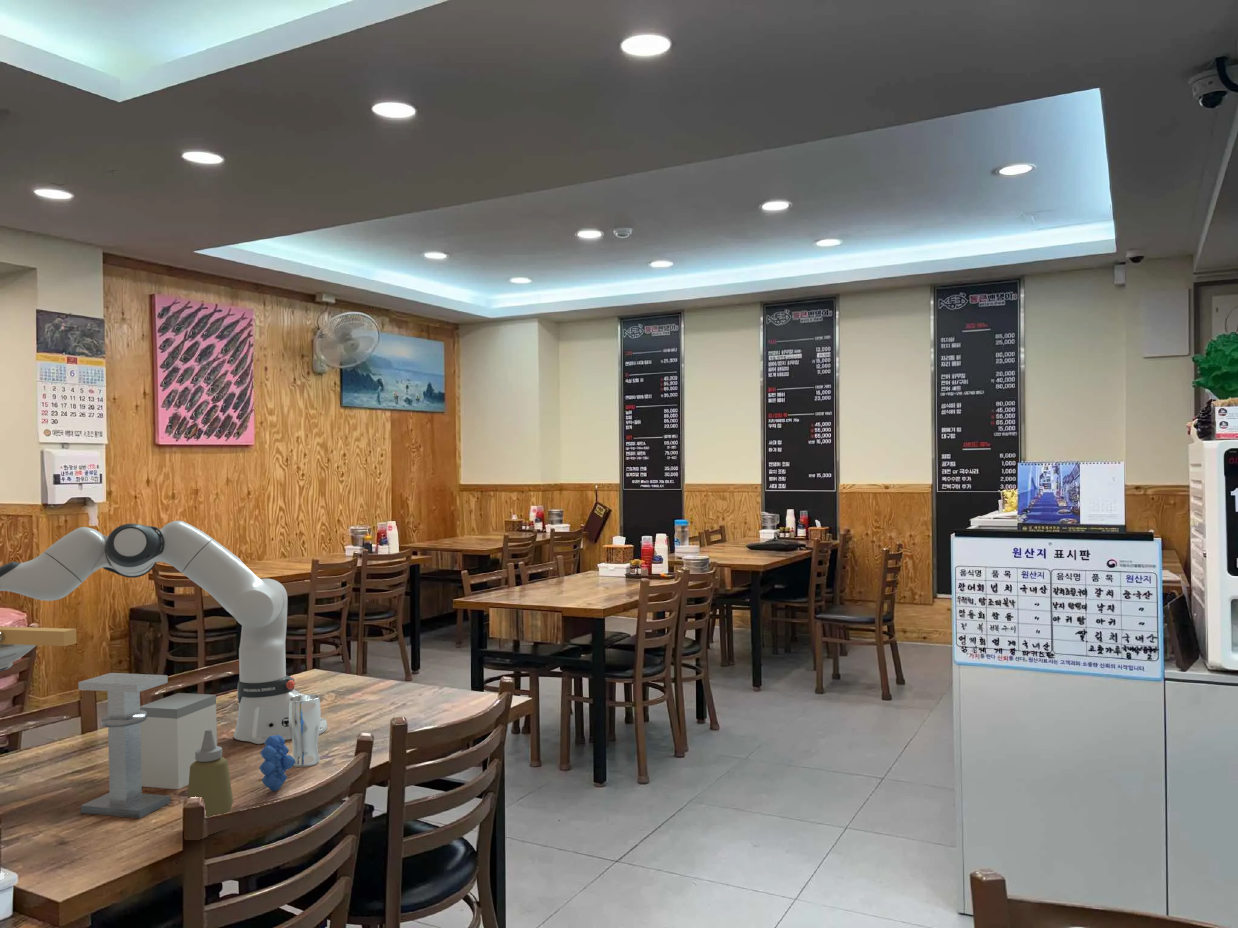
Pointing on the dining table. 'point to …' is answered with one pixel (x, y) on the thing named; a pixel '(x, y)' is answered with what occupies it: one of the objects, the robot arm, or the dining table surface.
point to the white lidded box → (174, 737)
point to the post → (124, 745)
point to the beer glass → (305, 728)
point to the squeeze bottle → (211, 777)
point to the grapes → (275, 762)
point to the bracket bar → (38, 636)
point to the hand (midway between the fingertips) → (10, 633)
